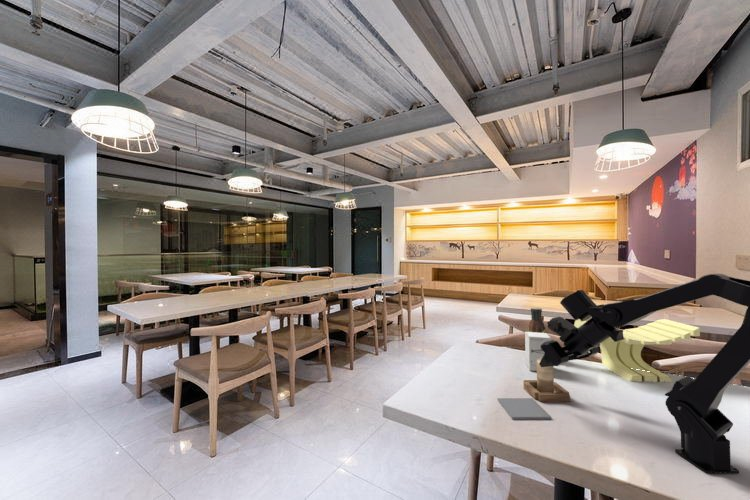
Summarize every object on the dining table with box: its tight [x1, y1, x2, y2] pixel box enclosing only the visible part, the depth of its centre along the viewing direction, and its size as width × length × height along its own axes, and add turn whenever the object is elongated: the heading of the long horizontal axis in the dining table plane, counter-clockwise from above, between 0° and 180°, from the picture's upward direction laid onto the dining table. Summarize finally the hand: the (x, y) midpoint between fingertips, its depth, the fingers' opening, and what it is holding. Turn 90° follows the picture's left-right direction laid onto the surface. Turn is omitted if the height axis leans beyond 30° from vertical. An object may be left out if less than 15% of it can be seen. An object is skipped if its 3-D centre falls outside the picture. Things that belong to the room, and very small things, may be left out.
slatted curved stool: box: [573, 318, 701, 383], centre depth 106 cm, size 30×16×18 cm, turn 85°
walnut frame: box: [523, 379, 571, 403], centre depth 91 cm, size 10×10×2 cm
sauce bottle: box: [528, 307, 547, 334], centre depth 123 cm, size 6×6×20 cm
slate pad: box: [497, 397, 552, 420], centre depth 83 cm, size 10×10×1 cm
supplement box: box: [524, 331, 552, 372], centre depth 111 cm, size 7×7×13 cm
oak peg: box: [536, 358, 555, 393], centre depth 91 cm, size 4×4×10 cm
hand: (550, 362), depth 90 cm, fingers open, 9 cm apart
